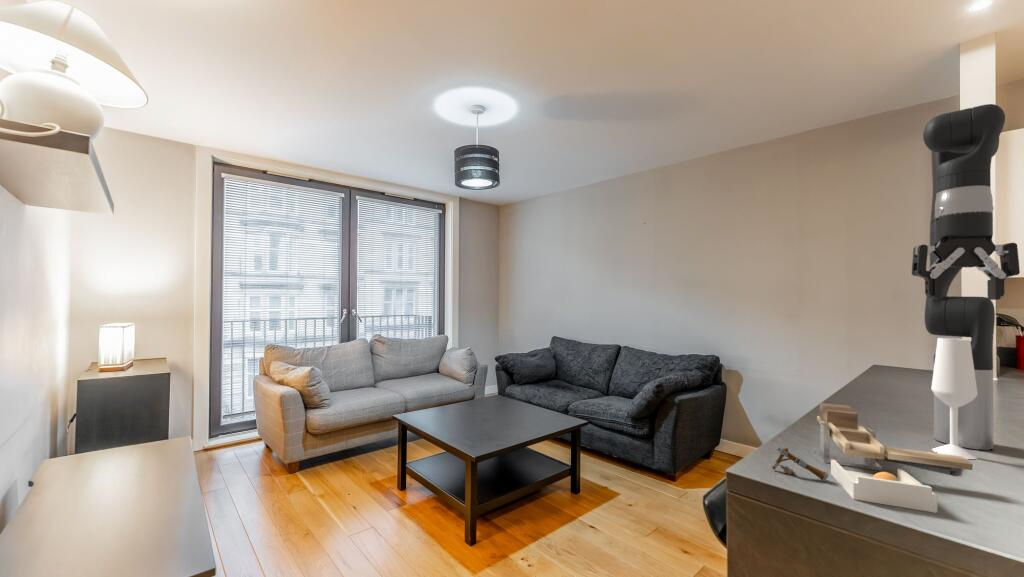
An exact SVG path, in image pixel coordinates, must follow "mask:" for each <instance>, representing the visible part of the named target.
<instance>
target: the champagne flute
mask: <svg viewBox="0 0 1024 577" xmlns="http://www.w3.org/2000/svg"><path fill="white" fill-rule="evenodd" d="M936 341H937V342H936V348H935V353H936V356H935V363H934V362H933V372H932V379H931V386H930V387H931V391H932V393H933V395H934V394H935V395H936V396H937V397H938V398H939V399H940V400H941V401H942V402H944V403H945V404H946V405H948V406H950V444H947V443H946V444H945V445H941V446H937V447H934V448H931V451H932V450H933V451H932V452H933V453H936V452H937V453H939V454H947V455H955V456H962V457H963V458H965V459H966V460H968V459H975V458H976V457H977V456H975V455H974V454H972V453H971V452H970V451H968V450H967V449H965V448H964V447H960V446H958V407H962V406H964V405H966V404H968V403H969V402H971V401H972V400H974V399H975V398H976V396H977V394H978V393H977V386H976V379H975V372H974V365H973V357H972V350H971V343H970V342H971V339H967V338H966V339H965V338H956V337H955V338H953V337H937V340H936Z"/></svg>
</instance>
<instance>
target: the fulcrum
mask: <svg viewBox="0 0 1024 577" xmlns="http://www.w3.org/2000/svg"><path fill="white" fill-rule="evenodd" d="M819 425H820V426H819V428H820V431H819V432H820V433H819V439H820V440H819V444H820V445H819V449H814V453H815V455H817V456H818V458H819V459H820V460H821V461H822V462H823V463H826V464H831V460H835V461H836V462H837V463H838V464H839V465H840V466H847V467H853V468H860V469H867V470H876V471H879V472H884V471H883V470H884V467H883V466H881V465H880V464H879V463H878V462H877V460H876V458H869V457H861V456H854V455H846V454H844V453H843V452H835V451H830V439H831V437H830V426H828V425H827V424H826V423H819ZM864 428H865V429H866V430H867V431H868V432H869V433H870V434H871V435H872V436H873V437H874V438H875V439H876V436H877V434H876V432H877V431H875V430H873V429H872V428H870V427H864ZM876 440H877V439H876Z"/></svg>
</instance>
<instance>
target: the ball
mask: <svg viewBox="0 0 1024 577" xmlns="http://www.w3.org/2000/svg"><path fill="white" fill-rule="evenodd" d="M873 478H879V479H885V480H892V481H899V479H898V478H897V476H895V475H894V474H893V473H890V472H887V471H879V472H877V473H875V474H874V476H873ZM899 482H900V481H899Z"/></svg>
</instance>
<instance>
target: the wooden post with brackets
mask: <svg viewBox="0 0 1024 577" xmlns="http://www.w3.org/2000/svg"><path fill="white" fill-rule="evenodd" d="M776 451H777V452H778V453H779V454H780V455H779V456H778V458H777V459H776V460H775V461H774V462H773V465H772V466H771V469H773V471H774V470H776V469H777V468H778V467H780V469H782V470H783V473H787V475H790V474H791V475H792V474H794V475H793V476H796V474H797V473H796V472H795V471H794V469H792V468H790V467H788V465H786V466H784V465H781V462H784V461H789V460H790V461H793V463H794V464H796V465H798V466H800V467H801V468H802V469H804V470H807V471H809V472H810V473H812V474H813V475H814V476H816V477H818V478H819V479H820V482H821V483H825V482H826V481H827V479H828V477H829V476H830V473H829V471H828V470H825V471H823V470H821V469H818V468H816V467H814V466H812V465H810V464H808V462H806V461H804V460H803V459H801V458H799V456H795V455H793V453H790V451H789V448H788V447H785V448H784V447H782V446H781V447H779V446H777V447H776ZM784 457H785V458H784ZM786 457H787V458H786ZM783 458H784V459H783Z"/></svg>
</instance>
